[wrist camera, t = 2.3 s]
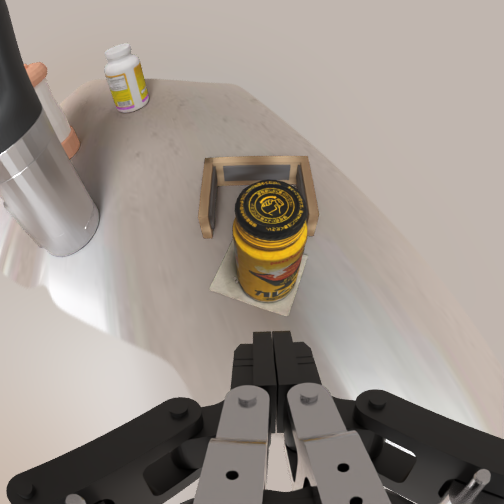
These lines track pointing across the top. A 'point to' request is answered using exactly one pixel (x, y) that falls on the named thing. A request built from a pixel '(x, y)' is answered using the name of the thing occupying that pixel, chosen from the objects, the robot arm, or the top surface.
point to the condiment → (265, 247)
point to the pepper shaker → (52, 108)
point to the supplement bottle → (125, 79)
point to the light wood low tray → (251, 172)
